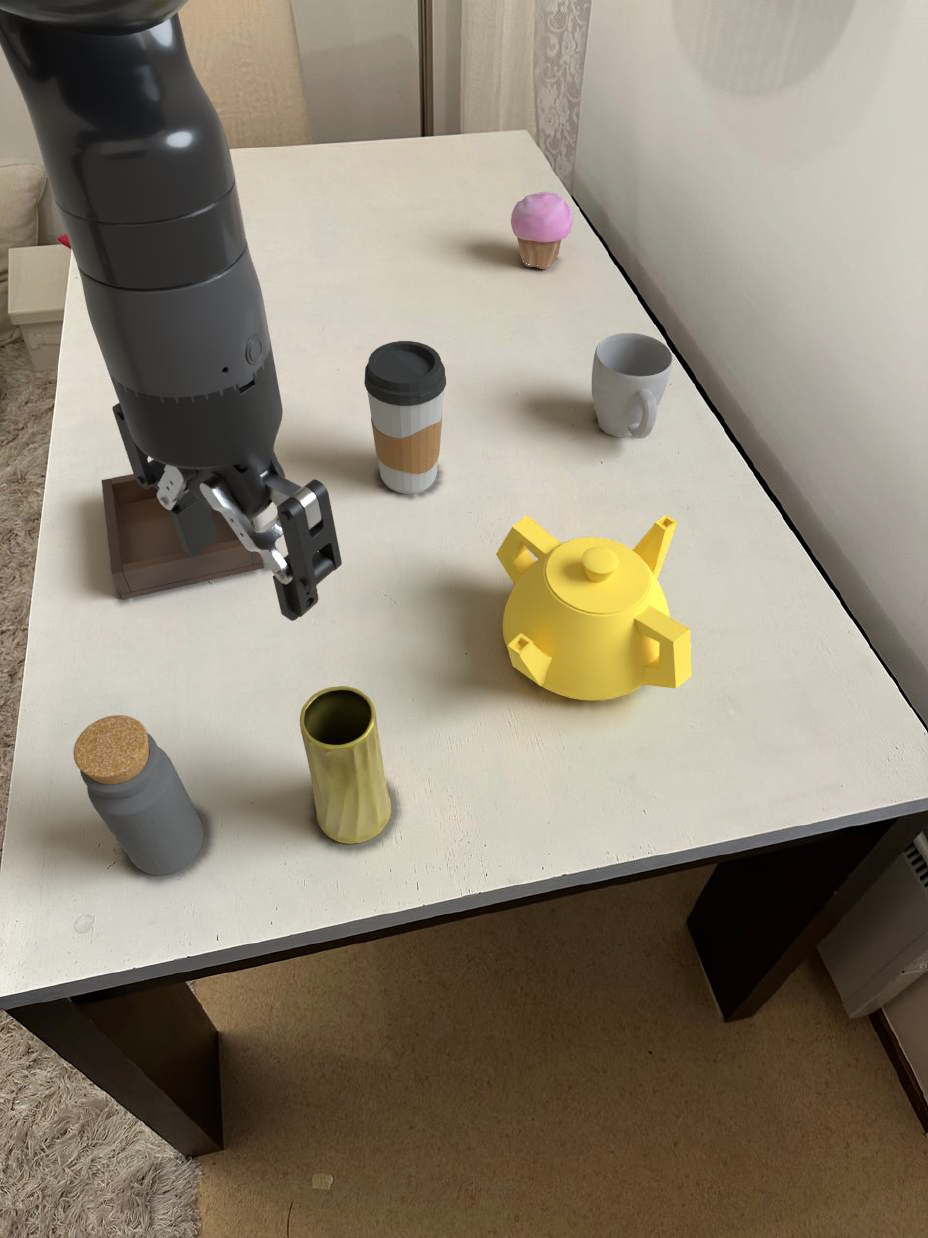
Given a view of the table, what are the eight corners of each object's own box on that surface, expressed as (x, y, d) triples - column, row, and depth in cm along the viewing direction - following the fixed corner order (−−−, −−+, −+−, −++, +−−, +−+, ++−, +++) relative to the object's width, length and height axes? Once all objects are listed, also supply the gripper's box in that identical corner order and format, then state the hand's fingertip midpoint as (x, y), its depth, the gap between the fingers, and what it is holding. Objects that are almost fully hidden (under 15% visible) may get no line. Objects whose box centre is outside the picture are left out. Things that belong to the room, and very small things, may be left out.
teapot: (681, 720, 75) (715, 638, 66) (496, 717, 75) (504, 634, 66) (655, 581, 86) (681, 493, 77) (492, 578, 86) (499, 489, 77)
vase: (305, 795, 70) (280, 699, 59) (373, 765, 72) (361, 667, 61) (333, 857, 67) (311, 768, 56) (403, 825, 69) (396, 733, 57)
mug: (574, 405, 104) (585, 335, 97) (642, 397, 106) (657, 328, 98) (604, 468, 97) (618, 398, 90) (676, 459, 98) (696, 390, 91)
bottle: (131, 885, 65) (63, 794, 53) (127, 817, 68) (63, 718, 57) (208, 865, 66) (158, 771, 54) (201, 800, 70) (153, 698, 58)
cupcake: (571, 253, 128) (580, 186, 120) (561, 282, 123) (570, 213, 115) (514, 245, 129) (519, 178, 122) (502, 273, 124) (506, 204, 116)
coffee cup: (415, 443, 99) (412, 328, 87) (460, 480, 95) (463, 365, 83) (357, 472, 96) (346, 356, 84) (401, 512, 92) (396, 397, 80)
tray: (122, 600, 83) (111, 574, 80) (112, 506, 91) (101, 479, 88) (264, 568, 86) (258, 541, 83) (241, 480, 94) (235, 453, 91)
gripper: (24, 324, 40) (124, 559, 52) (235, 445, 34) (290, 674, 47) (150, 261, 44) (215, 495, 56) (357, 362, 38) (377, 594, 51)
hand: (249, 576), depth 52 cm, fingers open, 8 cm apart
